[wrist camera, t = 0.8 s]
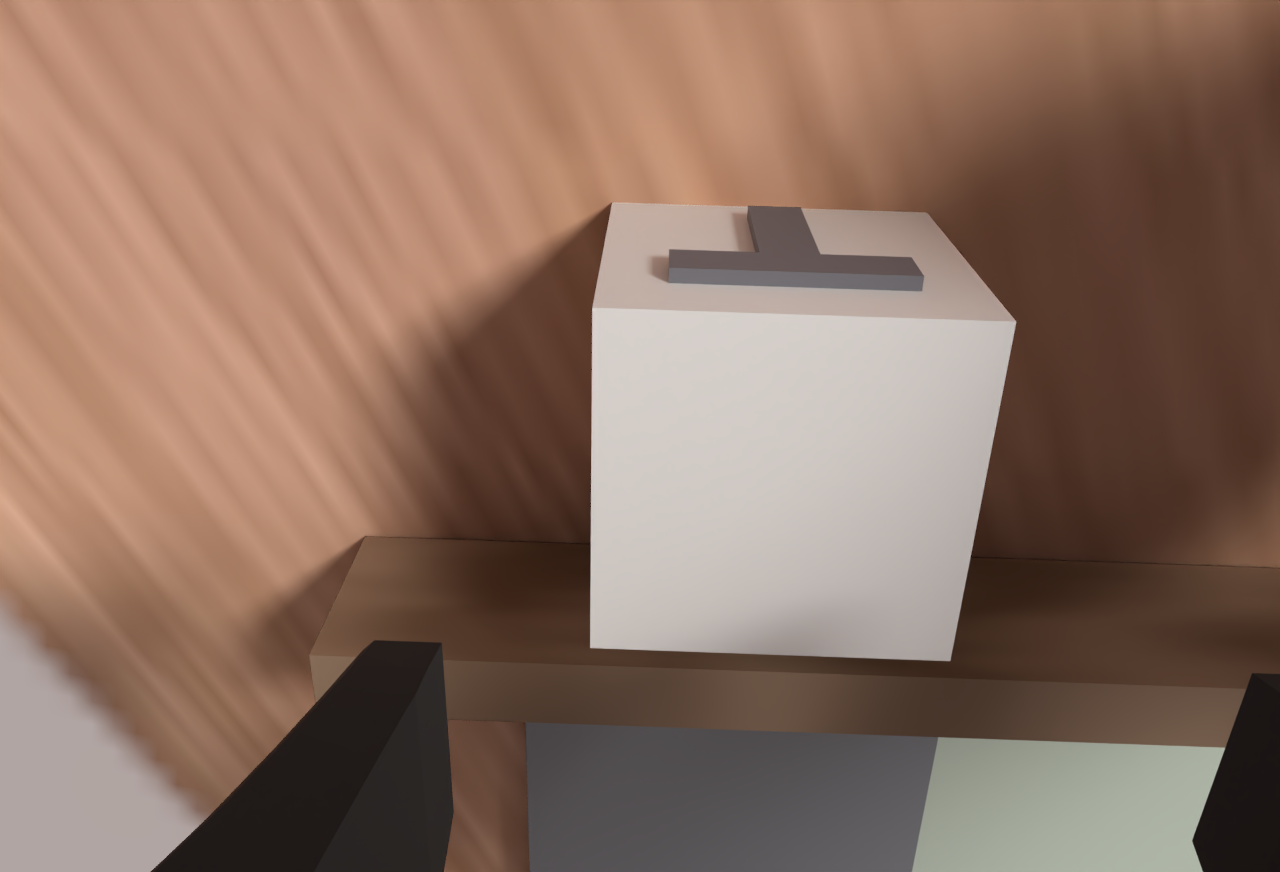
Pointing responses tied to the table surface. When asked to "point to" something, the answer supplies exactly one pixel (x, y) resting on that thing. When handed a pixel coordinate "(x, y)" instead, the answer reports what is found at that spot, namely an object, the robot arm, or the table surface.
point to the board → (856, 802)
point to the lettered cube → (787, 430)
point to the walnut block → (830, 686)
